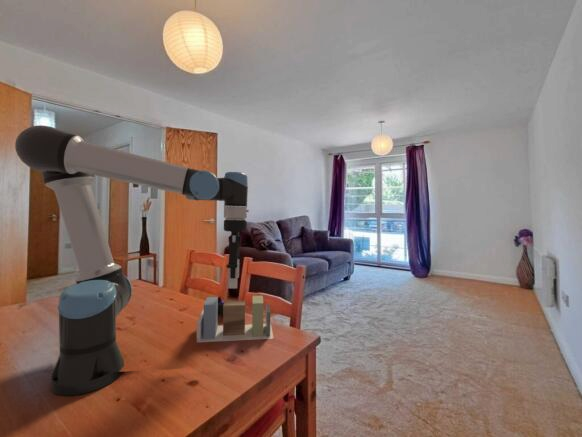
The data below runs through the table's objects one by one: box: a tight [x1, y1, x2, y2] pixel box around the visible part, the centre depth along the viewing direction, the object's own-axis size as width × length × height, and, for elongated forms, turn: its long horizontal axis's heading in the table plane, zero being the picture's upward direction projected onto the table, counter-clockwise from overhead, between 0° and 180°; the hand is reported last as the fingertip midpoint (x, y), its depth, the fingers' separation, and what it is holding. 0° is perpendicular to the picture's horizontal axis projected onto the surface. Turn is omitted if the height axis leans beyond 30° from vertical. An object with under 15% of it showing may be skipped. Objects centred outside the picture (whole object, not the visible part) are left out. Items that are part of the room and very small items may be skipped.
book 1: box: [203, 296, 219, 339], centre depth 95 cm, size 8×4×11 cm, turn 8°
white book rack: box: [196, 309, 275, 343], centre depth 96 cm, size 12×24×8 cm, turn 98°
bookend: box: [265, 302, 271, 336], centre depth 98 cm, size 9×1×8 cm, turn 8°
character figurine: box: [217, 296, 225, 316], centre depth 113 cm, size 8×7×15 cm
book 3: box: [251, 295, 265, 337], centre depth 97 cm, size 8×4×11 cm, turn 8°
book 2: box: [222, 300, 246, 336], centre depth 96 cm, size 4×7×10 cm, turn 98°
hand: (233, 282), depth 96 cm, fingers open, 13 cm apart
